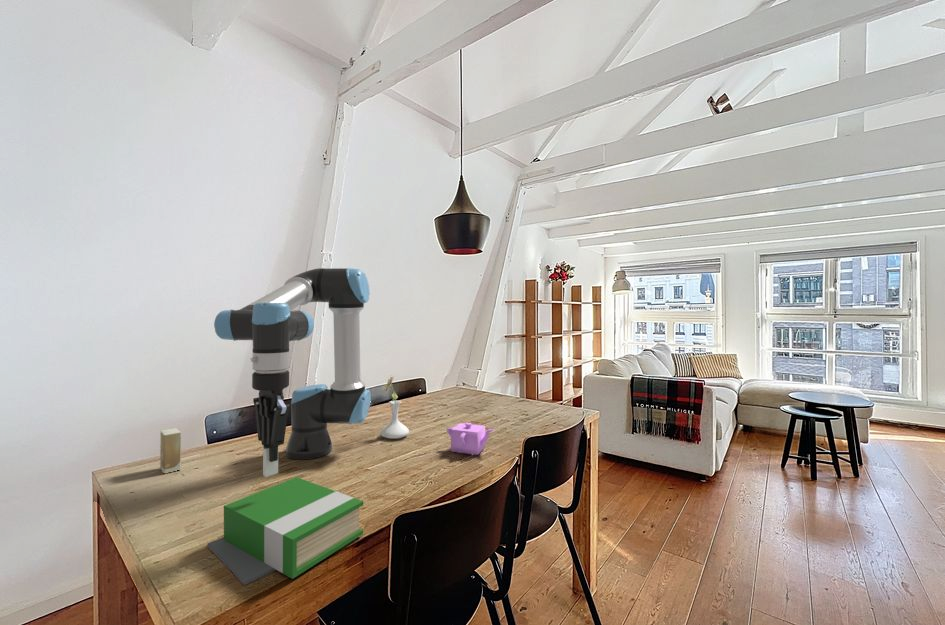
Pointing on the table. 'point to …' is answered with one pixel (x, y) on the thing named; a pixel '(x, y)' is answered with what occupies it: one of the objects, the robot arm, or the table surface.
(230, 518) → the hardback book
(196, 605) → the table surface
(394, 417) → the flower in vase
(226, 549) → the felt mat
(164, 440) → the skincare box
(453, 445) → the teapot
